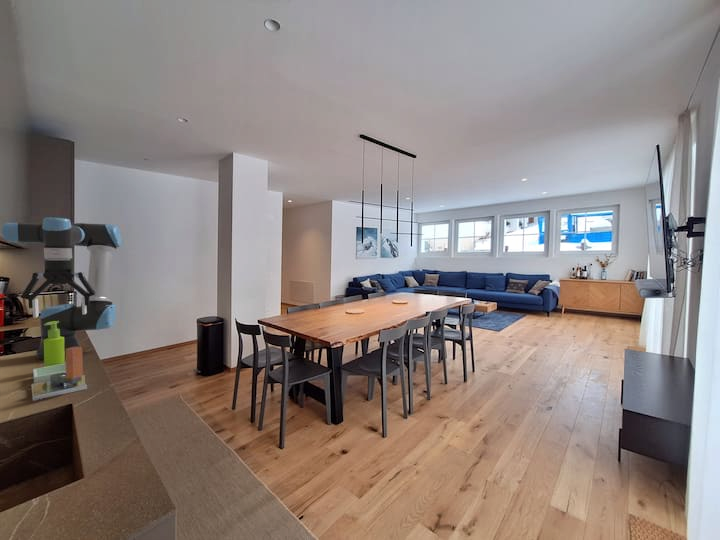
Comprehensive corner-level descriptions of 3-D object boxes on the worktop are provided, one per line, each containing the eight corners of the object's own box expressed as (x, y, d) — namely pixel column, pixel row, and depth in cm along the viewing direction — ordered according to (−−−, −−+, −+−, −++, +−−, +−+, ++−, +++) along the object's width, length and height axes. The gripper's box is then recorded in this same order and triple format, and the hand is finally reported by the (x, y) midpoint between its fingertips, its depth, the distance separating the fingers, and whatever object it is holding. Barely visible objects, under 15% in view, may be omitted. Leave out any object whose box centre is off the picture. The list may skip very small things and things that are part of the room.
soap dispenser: (38, 374, 120) (37, 323, 119) (51, 368, 126) (49, 320, 126) (57, 373, 121) (55, 323, 120) (68, 367, 128) (67, 319, 127)
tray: (33, 378, 116) (33, 369, 116) (75, 370, 125) (74, 361, 125) (34, 387, 108) (34, 377, 108) (78, 377, 117) (78, 368, 117)
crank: (46, 385, 106) (45, 347, 105) (61, 380, 110) (60, 344, 110) (71, 388, 104) (70, 350, 103) (85, 383, 108) (84, 346, 107)
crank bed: (31, 388, 107) (31, 377, 107) (81, 377, 117) (81, 367, 117) (32, 401, 98) (32, 388, 98) (87, 388, 108) (86, 377, 107)
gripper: (5, 259, 106) (9, 320, 107) (99, 260, 119) (101, 314, 120) (15, 258, 112) (18, 316, 114) (103, 259, 125) (105, 310, 127)
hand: (60, 315), depth 117 cm, fingers open, 13 cm apart
